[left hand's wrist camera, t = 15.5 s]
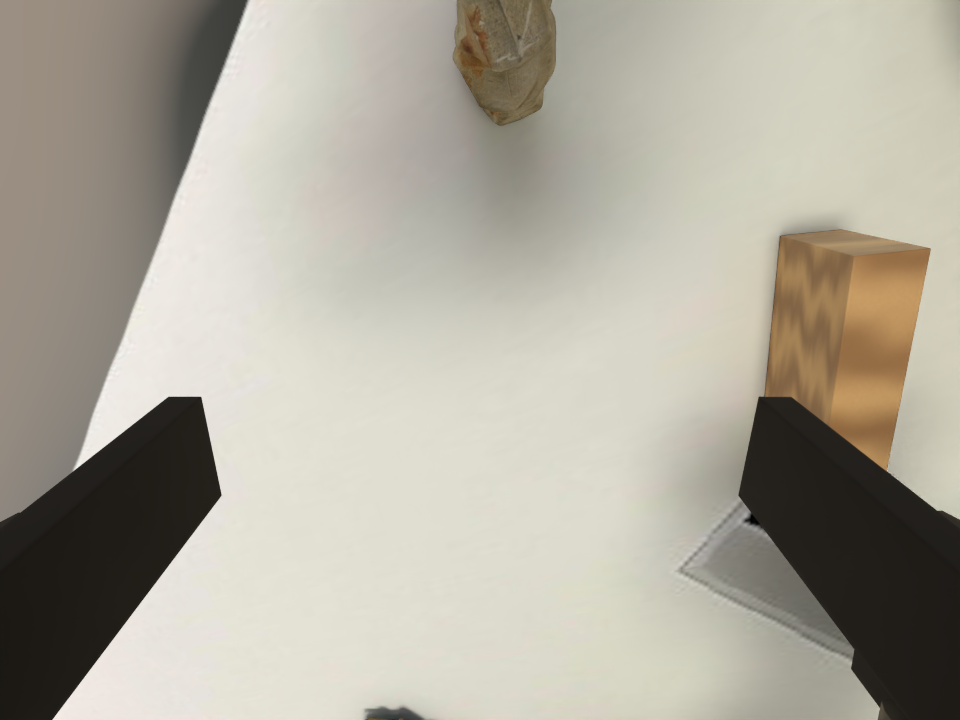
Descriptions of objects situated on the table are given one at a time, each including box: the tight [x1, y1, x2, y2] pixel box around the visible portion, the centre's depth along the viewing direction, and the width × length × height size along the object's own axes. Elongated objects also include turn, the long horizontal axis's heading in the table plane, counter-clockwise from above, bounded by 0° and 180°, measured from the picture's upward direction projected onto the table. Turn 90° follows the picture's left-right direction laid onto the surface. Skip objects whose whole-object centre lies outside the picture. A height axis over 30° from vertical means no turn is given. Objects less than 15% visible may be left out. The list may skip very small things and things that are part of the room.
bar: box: [765, 230, 931, 471], centre depth 42 cm, size 23×5×9 cm, turn 6°
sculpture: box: [453, 0, 556, 125], centre depth 31 cm, size 6×7×15 cm
